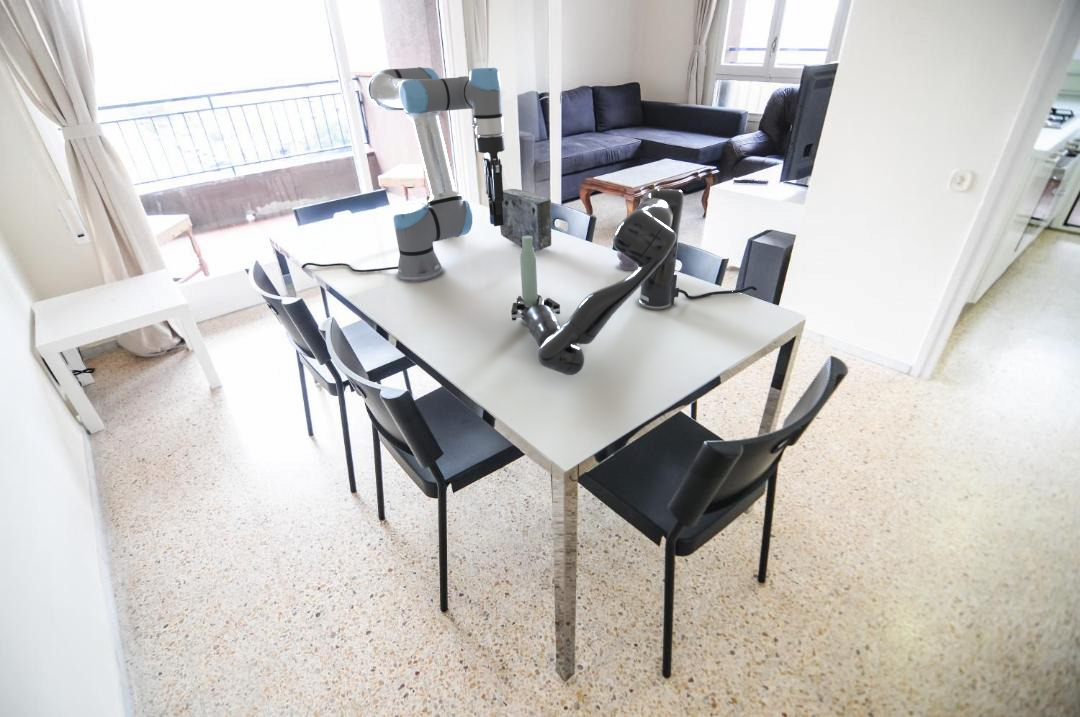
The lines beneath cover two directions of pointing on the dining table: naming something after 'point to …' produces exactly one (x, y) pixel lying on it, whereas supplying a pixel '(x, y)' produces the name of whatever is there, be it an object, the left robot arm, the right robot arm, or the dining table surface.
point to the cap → (492, 219)
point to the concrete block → (526, 218)
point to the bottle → (528, 272)
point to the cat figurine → (626, 262)
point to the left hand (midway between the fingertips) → (497, 223)
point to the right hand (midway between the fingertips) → (527, 298)
